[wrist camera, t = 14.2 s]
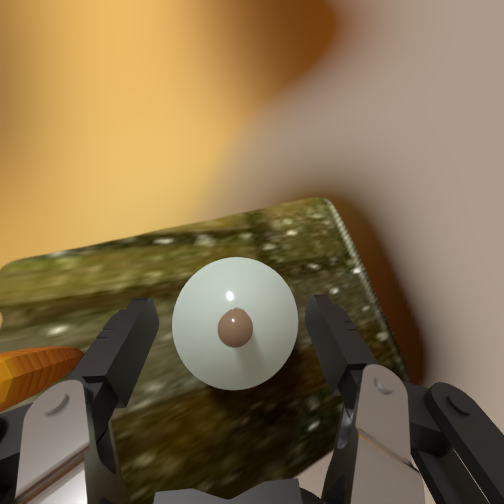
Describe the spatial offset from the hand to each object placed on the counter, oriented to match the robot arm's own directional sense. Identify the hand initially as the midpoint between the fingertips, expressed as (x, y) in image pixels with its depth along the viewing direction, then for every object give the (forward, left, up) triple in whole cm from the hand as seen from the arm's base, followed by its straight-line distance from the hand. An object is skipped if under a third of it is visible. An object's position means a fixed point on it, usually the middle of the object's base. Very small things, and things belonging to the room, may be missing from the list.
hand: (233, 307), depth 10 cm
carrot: (-22, +1, -21) cm, 30 cm away
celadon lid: (0, -1, -13) cm, 14 cm away
